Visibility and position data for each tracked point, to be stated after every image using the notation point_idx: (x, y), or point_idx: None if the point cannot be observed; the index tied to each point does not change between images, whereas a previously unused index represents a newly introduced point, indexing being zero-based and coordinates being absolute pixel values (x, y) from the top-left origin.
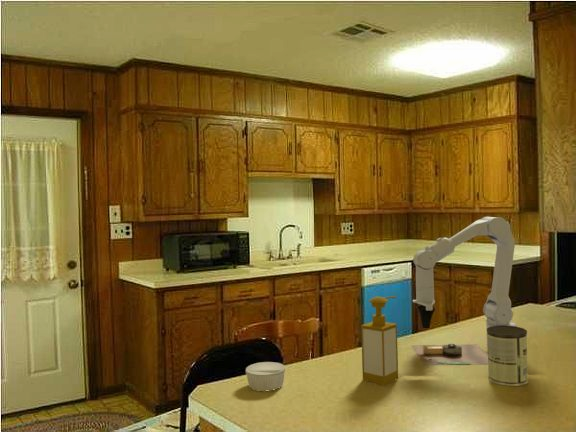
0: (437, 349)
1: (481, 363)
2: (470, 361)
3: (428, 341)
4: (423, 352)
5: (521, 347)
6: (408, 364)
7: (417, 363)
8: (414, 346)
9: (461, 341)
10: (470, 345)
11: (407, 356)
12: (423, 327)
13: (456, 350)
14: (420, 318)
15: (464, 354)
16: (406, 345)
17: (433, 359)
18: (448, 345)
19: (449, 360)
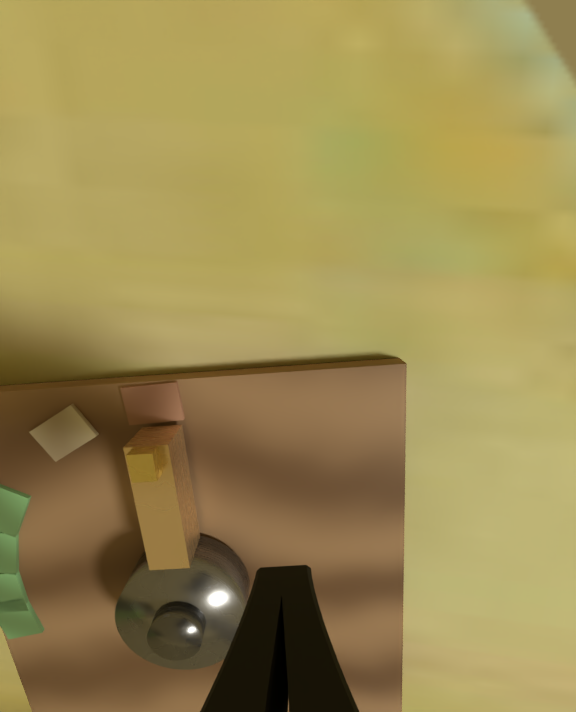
0: (145, 531)
1: (35, 677)
2: (60, 640)
3: (563, 482)
4: (153, 429)
5: None
6: (3, 303)
7: (38, 364)
8: (371, 382)
9: (528, 649)
10: (379, 686)
11: (191, 312)
12: (256, 582)
13: (124, 632)
14: (298, 695)
15: None
16: (479, 327)
17: (59, 469)
18: (162, 618)
19: (58, 550)
